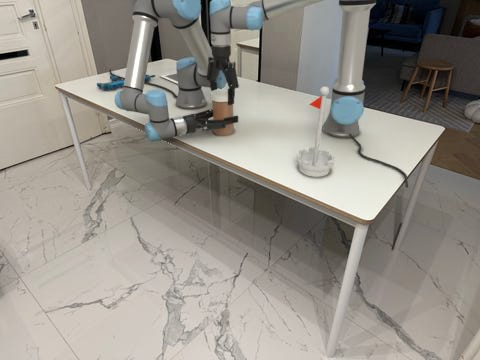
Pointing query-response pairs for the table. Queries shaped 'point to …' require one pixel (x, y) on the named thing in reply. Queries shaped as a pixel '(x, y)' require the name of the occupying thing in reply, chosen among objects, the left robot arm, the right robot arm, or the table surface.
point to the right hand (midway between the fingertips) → (222, 100)
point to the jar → (222, 116)
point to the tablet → (171, 77)
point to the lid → (219, 95)
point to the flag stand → (316, 146)
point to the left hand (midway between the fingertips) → (232, 115)
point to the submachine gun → (117, 82)
